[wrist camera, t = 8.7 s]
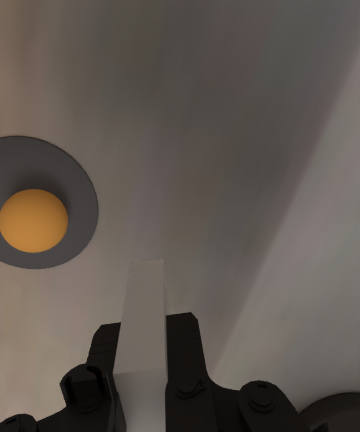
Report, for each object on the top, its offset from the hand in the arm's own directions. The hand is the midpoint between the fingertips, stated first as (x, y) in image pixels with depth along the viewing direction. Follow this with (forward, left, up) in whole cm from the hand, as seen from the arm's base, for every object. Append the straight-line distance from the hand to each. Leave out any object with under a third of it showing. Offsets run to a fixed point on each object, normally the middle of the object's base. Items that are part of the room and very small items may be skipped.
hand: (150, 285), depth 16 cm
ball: (0, +10, -14) cm, 17 cm away
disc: (0, +12, -16) cm, 20 cm away
